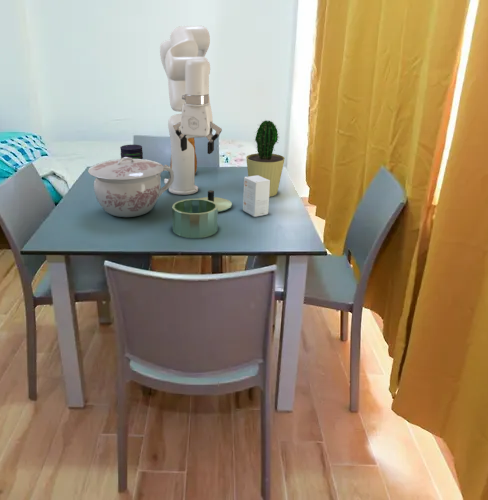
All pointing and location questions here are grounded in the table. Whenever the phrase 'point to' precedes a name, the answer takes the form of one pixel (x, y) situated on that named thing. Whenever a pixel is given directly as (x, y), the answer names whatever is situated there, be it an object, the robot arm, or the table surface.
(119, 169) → the chamber pot
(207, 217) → the pot
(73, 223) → the table surface
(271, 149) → the potted cactus
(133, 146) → the storage jar
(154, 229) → the table surface
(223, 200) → the lid
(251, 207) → the small box
